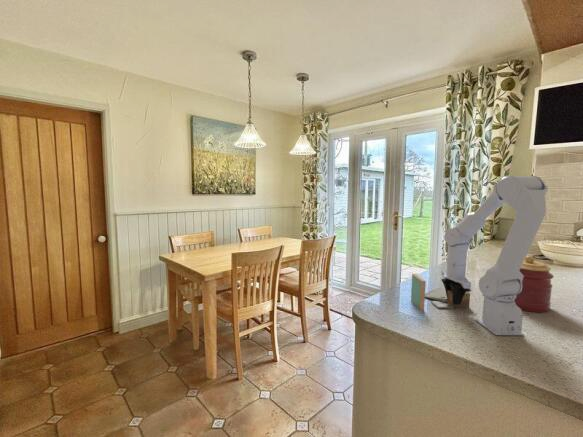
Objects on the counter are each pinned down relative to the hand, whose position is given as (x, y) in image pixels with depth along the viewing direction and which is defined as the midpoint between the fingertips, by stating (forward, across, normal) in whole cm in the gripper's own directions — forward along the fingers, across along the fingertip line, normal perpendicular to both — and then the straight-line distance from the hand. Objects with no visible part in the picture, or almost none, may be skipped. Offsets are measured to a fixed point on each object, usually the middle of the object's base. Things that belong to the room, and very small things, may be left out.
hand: (453, 301), depth 100 cm
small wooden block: (+1, 0, -2) cm, 2 cm away
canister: (+2, -1, +26) cm, 26 cm away
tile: (-4, 0, -12) cm, 13 cm away
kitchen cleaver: (+1, -12, +4) cm, 12 cm away
